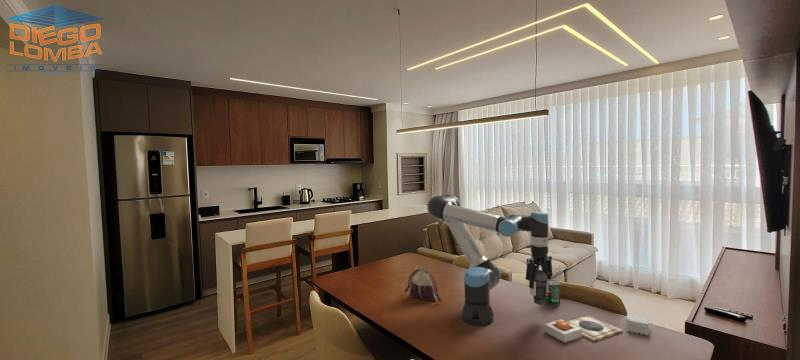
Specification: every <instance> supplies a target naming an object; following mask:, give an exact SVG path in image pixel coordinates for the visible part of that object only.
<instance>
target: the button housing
mask: <svg viewBox="0 0 800 360" xmlns="http://www.w3.org/2000/svg"><path fill="white" fill-rule="evenodd" d="M559 320H561V321H565V320H564V319H562V318H561V319H558V320H554V321H550V322H547V323H544V332H545V333H546V334H548V335H550V336H552V337H554V338H555V339H557V340H559V341H561V342H563V343H567V342H570V341H571V342H572V341H575V340H577V339H580V338H582V336H581V328H579V327H576V326H574V325H572V324H570V330H567V331H562V330H560V329H558V328H556V321H559Z"/></svg>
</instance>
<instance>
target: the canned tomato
mask: <svg viewBox="0 0 800 360" xmlns="http://www.w3.org/2000/svg"><path fill="white" fill-rule="evenodd" d="M545 304H546V305H548V306H560V305H561V282H559V281H558V280H554V279H549V285H548V293H546V295H545Z"/></svg>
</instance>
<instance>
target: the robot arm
mask: <svg viewBox="0 0 800 360" xmlns="http://www.w3.org/2000/svg"><path fill="white" fill-rule="evenodd" d="M426 206H427V207H426V209H427V213H428V214H429V215H430V216H431V217H433V218H434V219H437V220H441V221H442V223H443V224H447V226H448V227H449V230H450V231H451V233H452V235H453V237H454V238H455V240H456V241H457V243H458V244H457V245H459V247H460V248H461V251H462V253H463V254H464V256H465V258H466V259H467V261H468V262H469V267H468V268H467V269H466V270H465V271H464V277H463V283H464V304H463V308H462V311H461V320H462V321H463V322H465V323H467V324H469V325H472V326H487V325H490V324H493V322H494V320H495V318H494V312H493V310H492V305H491V303H490V302H491V301H490V298H491V297H490V291H492V289H493V288H495V287H496V286H497V285H498V284H499V282H500V280H501V278H502V277H501V275H502V274H501V270H500V268H499V267H498V266H497V264H495V263H493V262H492V260H491V259H490V258H489V257H487V256H485V255H484V253H483V251H482V249H481V248H480V246H479V244H478V243H477V240H476V239H475V237H474V236H473V234H472V233H471V231H470V229H469V227H468V225H469V226H473V227H475V228H479V229H480V228H481V229H483V230H488V231H490V232H491V231H492V232H495V233H498V234H500V235H501V236H503V237H505V238H510V237H514V236H516V234H518V233H519V232H528V233H529V232H530V253H531V258H527V259H526V271H525V272H526V273H525V280H526V281H528V283H529V290H530V292H529V294H530V295H532V296H533V295H534V296H536V282H535V277H536V274H537V270H538V268H539V269H540V268H541V270H542V271H543V272H545V274H546V275H547V279H548V281H547V285H546V293H548V285H549V280H552V278H553V275H554V273H553V266H552V259H553V257H552V256H550V255H548V254H549V246H548V245H549V215H548V213H547V212H545V211H531V213H530V215H522V214H521V215H520V214H514V213H513V214H506V215H505V216H501V215H497V214H493V213H487V212H484V211H480V210H475V209H472V208H468V207H463V206H461V203H460V200H459V198H457V196H455V195H453V194H448V193H447V194H446V193H444V194H442V195H436V196H433V197H432V198H430V199H429V201H428V203H427V205H426Z"/></svg>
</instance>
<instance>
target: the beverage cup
mask: <svg viewBox="0 0 800 360" xmlns="http://www.w3.org/2000/svg"><path fill="white" fill-rule="evenodd" d="M547 281H548V279H547V275H546V274H545V272H543V271H542V269H540V267H539V268H538V270H537V274H536V277H535V282H536V296H534V295H532V296H533V303H534V304H536V305H538V306H543V305H545V304H546V303H545V295H546V285H547Z"/></svg>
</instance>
